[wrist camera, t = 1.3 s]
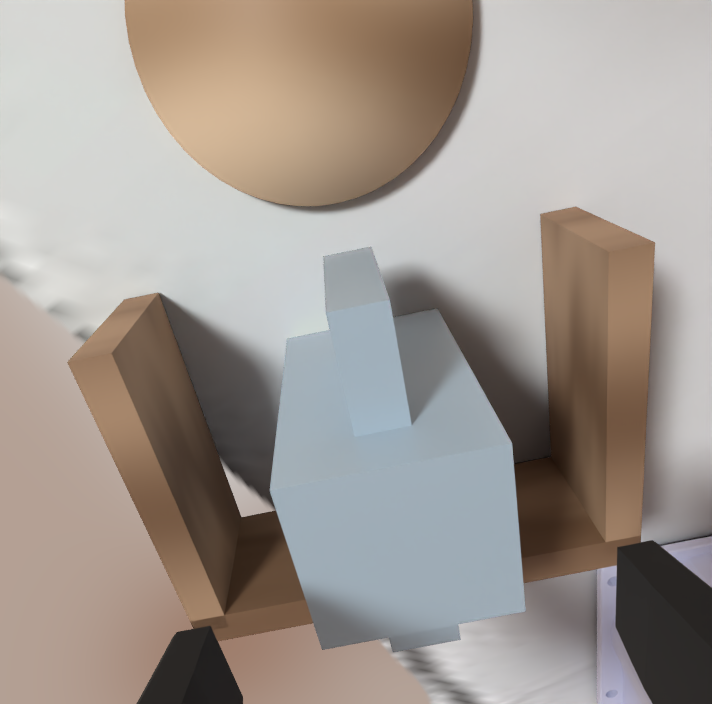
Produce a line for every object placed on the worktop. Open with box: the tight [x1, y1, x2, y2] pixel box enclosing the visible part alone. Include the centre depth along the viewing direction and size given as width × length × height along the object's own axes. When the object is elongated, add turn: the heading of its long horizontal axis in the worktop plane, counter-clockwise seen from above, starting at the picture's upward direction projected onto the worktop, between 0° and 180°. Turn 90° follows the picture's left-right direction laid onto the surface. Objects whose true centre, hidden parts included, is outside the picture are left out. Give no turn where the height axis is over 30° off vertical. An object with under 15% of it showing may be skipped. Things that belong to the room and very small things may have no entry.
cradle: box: [68, 207, 655, 641], centre depth 16 cm, size 10×13×4 cm
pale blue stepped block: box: [270, 247, 526, 652], centre depth 14 cm, size 8×5×7 cm, turn 11°
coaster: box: [125, 0, 473, 206], centre depth 13 cm, size 8×8×1 cm
